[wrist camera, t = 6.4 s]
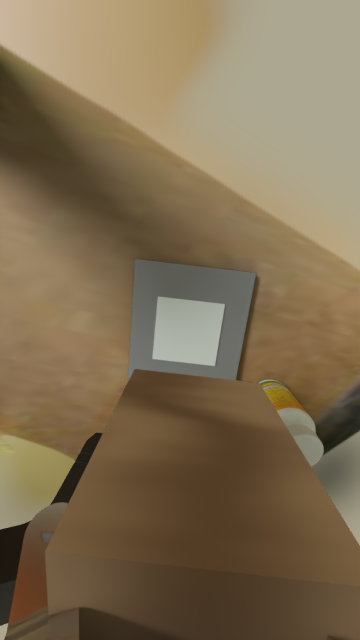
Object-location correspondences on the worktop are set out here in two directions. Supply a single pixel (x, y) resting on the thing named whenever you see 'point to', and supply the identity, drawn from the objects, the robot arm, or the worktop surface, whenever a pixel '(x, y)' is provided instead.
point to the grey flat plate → (188, 319)
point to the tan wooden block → (202, 524)
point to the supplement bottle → (295, 419)
